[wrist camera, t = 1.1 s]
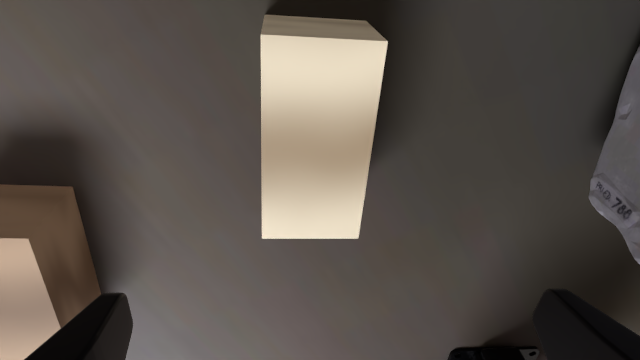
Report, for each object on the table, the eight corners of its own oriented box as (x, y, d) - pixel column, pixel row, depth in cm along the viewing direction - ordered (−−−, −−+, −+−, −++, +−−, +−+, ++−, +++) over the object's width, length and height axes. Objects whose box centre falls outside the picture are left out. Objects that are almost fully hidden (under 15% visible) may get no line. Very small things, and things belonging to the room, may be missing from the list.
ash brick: (344, 188, 20) (358, 238, 17) (265, 186, 20) (262, 238, 16) (365, 20, 16) (387, 41, 13) (265, 13, 16) (261, 34, 12)
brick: (105, 303, 23) (74, 367, 19) (30, 303, 22) (-15, 368, 19) (74, 184, 19) (28, 238, 15) (-18, 181, 18) (-87, 236, 15)
